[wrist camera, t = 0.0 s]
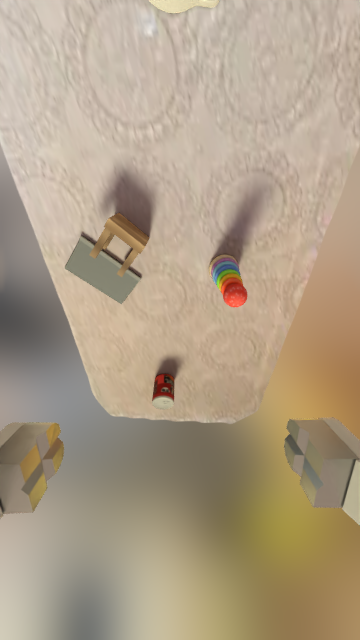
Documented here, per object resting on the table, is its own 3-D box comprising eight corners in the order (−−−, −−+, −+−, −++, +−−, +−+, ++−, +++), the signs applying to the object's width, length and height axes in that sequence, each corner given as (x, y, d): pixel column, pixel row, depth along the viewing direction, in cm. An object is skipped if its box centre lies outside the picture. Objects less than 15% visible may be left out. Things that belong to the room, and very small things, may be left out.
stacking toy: (212, 251, 55) (226, 278, 39) (240, 256, 56) (265, 284, 40) (205, 278, 59) (215, 312, 44) (232, 282, 60) (251, 317, 45)
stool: (119, 212, 50) (108, 218, 42) (149, 237, 53) (145, 246, 45) (100, 244, 54) (88, 254, 46) (129, 265, 57) (122, 278, 49)
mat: (82, 235, 52) (81, 236, 52) (141, 277, 59) (140, 279, 58) (65, 267, 57) (63, 269, 56) (121, 303, 64) (120, 305, 63)
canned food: (177, 381, 85) (177, 406, 76) (160, 387, 87) (158, 411, 78) (168, 370, 81) (167, 394, 72) (151, 376, 83) (148, 401, 74)
